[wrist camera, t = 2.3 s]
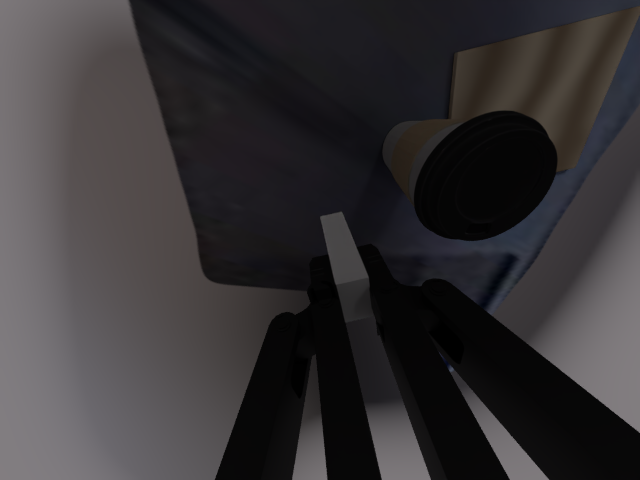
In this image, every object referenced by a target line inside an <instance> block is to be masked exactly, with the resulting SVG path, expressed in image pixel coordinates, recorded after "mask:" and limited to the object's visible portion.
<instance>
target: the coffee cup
mask: <svg viewBox="0 0 640 480" xmlns="http://www.w3.org/2000/svg"><path fill="white" fill-rule="evenodd" d="M382 154H383V160H384V162H385V164H386V166H387V167H388V168H389V170H390V171H391V173H392V174H393V177H394V179H395V181H396V182H397V184H398V185H399V186H400V188H401V189H402V191H403V192H404V193H405V195H406V196H407V198H408V199H409V200H410V202H411V203H412V205H413V206H414V207H415V211H416V214H417V216H418V218H419V220H420V221H421V223H422V224H423V225H424V226H425V227H426V228H427V229H429V230H430V231H432V232H434V233H435V234H437V235H439V236H441V237H444V238H448V239H460V240H465V241H477V240H483V239H488V238H491V237H494V236H497V235H499V234H501V233H503V232H505V231H507V230H509V229H511V228H512V227H514V226H515V225H517V224H518V223H520V222H521V221H522V220H523V219H525V218H526V217H527V216H528V215H529V214H530V213H531V212H532V211H533V210H534V209H535V208H536V207H537V206H538V205H539V204H540V202H541V201H542V200H543V198H544V197H545V195H546V194H547V192H548V190H549V189H550V187H551V185H552V183H553V180H554V177H555V174H556V170H557V164H558V157H557V151H556V148H555V145H554V144H553V142H552V141H551V139H550V138H549V136H548V134H547V132H546V130H545V128H544V127H543V126H542V125H541V124H540V123H539V122H538V121H536V120H535V119H533V118H531V117H529V116H526V115H524V114H522V113H519V112H515V111H508V110H502V111H493V112H489V113H485V114H482V115H479V116H477V117H474V118H472V119H470V120H455V119H431V120H425V121H406V122H402V123H400V124H398V125H396V126H395V127H393V128H392V129H391V130H390V132H389V133H388V134H387V136H386V138H385V141H384V144H383V151H382Z"/></svg>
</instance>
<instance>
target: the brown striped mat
mask: <svg viewBox="0 0 640 480" xmlns="http://www.w3.org/2000/svg"><path fill="white" fill-rule="evenodd" d="M639 15H640V6H638V7H634V8H630V9H626V10H622V11H618V12H614V13H610V14H606V15H602V16H598V17H594V18H590V19H587V20H583V21H579V22H575V23H571V24H567V25H563V26H559V27H555V28H551V29H547V30H543V31H539V32H535V33H532V34H528V35H524V36H520V37H516V38H512V39H508V40H504V41H500V42H496V43H492V44H488V45H484V46H481V47H477V48H473V49H469V50H465V51H461V52H457V53H454V63H453V73H452V84H451V94H450V105H449V115H448V119H455V120H470V119H472V118H474V117H477V116H479V115H482V114H485V113H489V112H493V111H502V110H508V111H515V112H519V113H522V114H524V115H526V116H529V117H531V118H533V119H535V120H536V121H538V122H539V123H540V124H541V125H542V126H543V127H544V128H545V130H546V132H547V134H548V136H549V138H550V139H551V141H552V142H553V144H554V145H555V148H556V151H557V157H558V164H557V170H556V172H559V171H563V170H567V169H572V168H575V167H576V165H577V162H578V160H579V157H580V155H581V153H582V150H583V148H584V146H585V143H586V141H587V138H588V136H589V134H590V131H591V129H592V127H593V124H594V122H595V119H596V117H597V115H598V112H599V110H600V107H601V105H602V103H603V100H604V98H605V96H606V93H607V91H608V88H609V86H610V84H611V81H612V79H613V77H614V74H615V72H616V69H617V67H618V65H619V62H620V60H621V57H622V55H623V53H624V50H625V48H626V46H627V43H628V41H629V38H630V36H631V34H632V31H633V29H634V26H635V24H636V22H637V19H638V17H639Z"/></svg>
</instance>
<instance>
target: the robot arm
mask: <svg viewBox="0 0 640 480" xmlns="http://www.w3.org/2000/svg"><path fill="white" fill-rule="evenodd" d="M320 218H321V222H322V227H323V231H324V236H325V240H326V245H327V249H328V255H323V256H319V257H315V258H312V260H311V262H310V264H309V265H310V275H311V285H310V286H309V288H308V291H307V294H308V296H309V300H310V302H311V303H310V305H309V306H308V307H307V308H306V309H305V310H303V311H302V312H300V313H298V314H296V315H294V314H293V313H290V312H285V313H281V314H279V315H277V316H276V317H275V318H274V319H273V320H272V321H271V323H270V325H269V327H268V330H267V333H266V336H265V339H264V342H263V345H262V347H261V350H260V353H259V356H258V359H257V362H256V365H255V367H254V370H253V373H252V376H251V379H250V382H249V384H248V387H247V390H246V393H245V396H244V398H243V402H242V404H241V407H240V410H239V413H238V415H237V418H236V421H235V424H234V427H233V430H232V433H231V435H230V438H229V442H228V444H227V447H226V450H225V452H224V455H223V458H222V461H221V464H220V467H219V469H218V473H217V475H216V478H215V480H292V475H293V470H294V464H295V458H296V451H297V445H298V439H299V432H300V426H301V420H302V414H303V407H304V402H305V396H306V389H307V383H308V377H309V370H310V365H311V359H312V356H313V355H315V354H316V360H317V371H318V382H319V392H320V403H321V414H322V425H323V436H324V447H325V457H326V468H327V479H328V480H382V479H381V474H380V470H379V466H378V462H377V457H376V453H375V448H374V444H373V440H372V435H371V431H370V427H369V423H368V418H367V414H366V410H365V406H364V401H363V397H362V393H361V388H360V384H359V379H358V375H357V371H356V366H355V362H354V358H353V354H352V349H351V345H350V341H349V337H348V332H347V328H346V322H350V321H355V320H359V319H364V318H368V317H373V313H374V315H375V318H376V325H377V333H378V335H380V337H381V340H382V343H383V346H384V348H385V351H386V354H387V357H388V359H389V362H390V365H391V368H392V371H393V373H394V377H395V379H396V382H397V385H398V388H399V391H400V393H401V396H402V399H403V402H404V405H405V408H406V410H407V413H408V416H409V419H410V422H411V424H412V427H413V430H414V433H415V436H416V439H417V441H418V444H419V447H420V450H421V452H422V455H423V458H424V461H425V464H426V467H427V469H428V472H429V475H430V478H431V480H510V479H509V478H508V476H507V474H506V472H505V470H504V469H503V467H502V465H501V463H500V461H499V459H498V458H497V456H496V454H495V452H494V451H493V449H492V447H491V445H490V443H489V442H488V440H487V438H486V436H485V434H484V433H483V431H482V429H481V427H480V426H479V424H478V422H477V420H476V418H475V417H474V415H473V413H472V411H471V409H470V407H469V406H468V404H467V402H466V400H465V399H464V397H463V395H462V393H461V391H460V389H459V388H458V386H457V384H456V382H455V381H454V379H453V377H452V375H451V373H450V372H449V370H448V368H447V366H446V364H445V363H444V361H443V359H442V357H441V355H442V356H443V357H444V358H445V359H446V360H447V361H448V363H449V364H450V365H451V366H452V367H453V368H454V370H455V371H456V372H457V373H458V374H459V375H460V377H461V378H462V379H463V380H464V381H465V382H466V383H467V385H468V386H469V387H470V388H471V389H472V390H473V392H474V393H475V394H476V395H477V396H478V397H479V399H480V400H481V401H482V402H483V403H484V404H485V406H486V407H487V408H488V409H489V410H490V411H491V413H492V414H493V415H494V416H495V417H496V418H497V419H498V421H499V422H500V423H501V424H502V425H503V426H504V428H505V429H506V430H507V431H508V432H509V433H510V435H511V436H512V437H513V438H514V439H515V440H516V441H517V443H518V444H519V445H520V446H521V447H522V449H523V450H524V451H525V452H526V453H527V454H528V455H529V457H530V458H531V459H532V460H533V461H534V462H535V464H536V465H537V466H538V467H539V468H540V469H541V471H542V472H543V473H544V474H545V475H546V476H547V477H548V479H549V480H640V433H639V432H638V431H637V430H635V429H634V428H633V427H632V426H630V425H629V424H628V423H626V422H625V421H624V420H623V419H621V418H620V417H619V416H618V415H616V414H615V413H614V412H612V411H611V410H610V409H609V408H608V407H606V406H605V405H604V404H602V403H601V402H600V401H599V400H598V399H596V398H595V397H594V396H592V395H591V394H590V393H589V392H587V391H586V390H585V389H584V388H582V387H581V386H580V385H578V384H577V383H576V382H575V381H573V380H572V379H571V378H570V377H568V376H567V375H566V374H565V373H563V372H562V371H561V370H560V369H558V368H557V367H556V366H555V365H553V364H552V363H551V362H550V361H548V360H547V359H546V358H544V357H543V356H542V355H540V354H539V353H538V352H537V351H536V350H534V349H533V348H532V347H531V346H529V345H528V344H527V343H526V342H524V341H523V340H522V339H520V338H519V337H518V336H517V335H515V334H514V333H513V332H511V331H510V330H509V329H508V328H507V327H505V326H504V325H503V324H501V323H500V322H499V321H498V320H496V319H495V318H494V317H493V316H491V315H490V314H489V313H488V312H486V311H485V310H484V309H483V308H481V307H480V306H479V305H477V304H476V303H475V302H474V301H472V300H471V299H470V298H469V297H467V296H466V295H465V294H464V293H462V292H461V291H460V290H459V289H457V288H456V287H455V286H453V285H452V284H451V283H449V282H447V281H446V280H442V279H434V278H433V279H429V280H426V281H425V282H424V283H423V284H422V286H406V285H403V284H400V283H399V282H398V281H397V280H395V279H394V278H393V277H392V275H391V273H390V271H389V269H388V267H387V265H386V264H385V262H384V260H383V258H382V256H381V255H380V252H379V251H378V249H377V248H376V247H375V246H373V245H372V244H368V245H364V246H360V247H356V245H355V243H354V240H353V238H352V235H351V233H350V230H349V228H348V226H347V223H346V221H345V218H344V216H343V213H342V212H338V213H334V214H330V215H326V216H321V217H320ZM438 351H439V352H440V353H441V355H440V354H439V352H438Z"/></svg>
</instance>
